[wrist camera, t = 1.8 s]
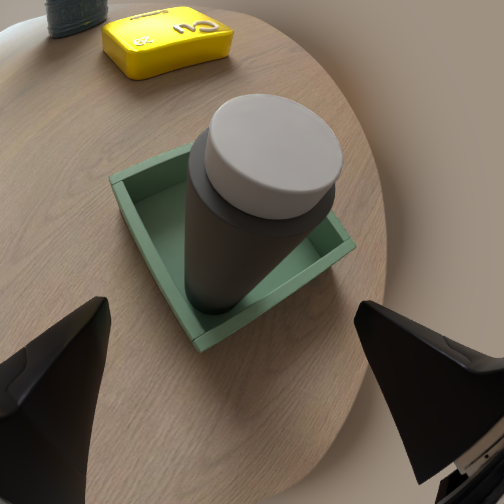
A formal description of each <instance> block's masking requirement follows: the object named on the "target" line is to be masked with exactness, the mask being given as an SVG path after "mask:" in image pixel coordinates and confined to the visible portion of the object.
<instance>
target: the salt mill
mask: <svg viewBox="0 0 504 504" xmlns="http://www.w3.org/2000/svg"><path fill="white" fill-rule="evenodd" d="M342 166H343V154H342V149H341V146H340V143H339V141H338V139H337V137H336V135H335V134H334V132H333V131H332V130H331V128H330V127H329V126H328V125H327V124H326V123H325V122H324V121H323V120H322V119H321V118H320V117H319V116H318V115H316V114H315V113H314V112H312V111H311V110H309V109H308V108H306V107H304V106H302V105H301V104H298V103H296V102H294V101H292V100H289V99H286V98H283V97H279V96H274V95H267V94H249V95H243V96H239V97H236V98H233V99H231V100H229V101H227V102H226V103H224V104H223V105H222V106H220V107H219V109H218V110H217V111H216V112H215V113H214V115H213V117H212V119H211V122H210V125H209V127H208V128H207V129H206V130H204V131H203V132H202V133H201V134H200V135H199V137H198V138H197V139H196V140H195V142H194V144H193V145H192V147H191V150H190V153H189V158H188V166H187V183H186V204H185V240H184V286H185V293H186V296H187V298H188V300H189V302H190V303H191V305H192V306H193V307H194V308H196V309H197V310H198V311H200V312H202V313H205V314H209V315H220V314H224V313H226V312H228V311H230V310H231V309H233V308H234V307H235V306H236V305H237V304H238V303H239V302H240V301H241V300H242V299H243V298H244V297H245V296H246V295H247V294H249V293H250V292H251V291H252V290H253V289H254V288H255V287H256V286H257V285H258V284H259V283H260V282H261V281H262V280H263V279H264V278H265V277H266V276H267V275H268V274H269V273H270V272H272V271H273V270H274V269H275V268H276V267H277V266H278V265H279V264H280V263H281V262H282V261H283V260H284V259H285V258H286V257H287V256H288V255H289V254H290V253H291V252H292V251H293V250H294V249H295V248H296V247H297V246H298V245H299V244H300V243H301V242H302V241H303V240H304V239H305V238H306V237H307V236H308V235H309V234H310V233H311V232H312V231H313V230H314V229H315V228H316V227H317V226H318V225H319V224H320V223H321V222H322V221H323V220H324V219H325V218H326V217H327V215H328V214H329V212H330V210H331V208H332V206H333V202H334V198H335V182H336V180H337V179H338V178H339V176H340V173H341V170H342Z"/></svg>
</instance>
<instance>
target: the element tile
mask: <svg viewBox="0 0 504 504" xmlns="http://www.w3.org/2000/svg"><path fill="white" fill-rule="evenodd" d="M233 34H234V31H233V30H232V29H231V28H229V27H227V26H225V25H224V24H222V23H220V22H218V21H216V20H214V19H212V18H210V17H208V16H206V15H204V14H202V13H200V12H198V11H196V10H193V9H191V8H188V7H176V8H170V9H164V10H159V11H154V12H149V13H145V14H144V13H143V14H140V15H136V16H132V17H128V18H125V19H121V20H118V21H114V22H111V23H108V24H106V25H104V26H103V27H102V44H103V50H104V51H105V53H106V54H107V55H108V56H109V57H110V58H111V59H112V60H113V61H114V62H115V64H116V65H117V66H118V67H119V68H120V69H121V70H122V71H123V73H124V74H125V75H126V76H127V77H128V78H130V79H133V80H142V79H147V78H151V77H154V76H157V75H160V74H163V73H166V72H169V71H173V70H176V69H180V68H183V67H187V66H191V65H195V64H199V63H203V62H207V61H212V60H216V59H221V58H224V57H226V56H227V55H228V54H229V50H230V46H231V42H232V38H233Z"/></svg>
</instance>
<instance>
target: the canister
mask: <svg viewBox="0 0 504 504" xmlns="http://www.w3.org/2000/svg"><path fill="white" fill-rule="evenodd" d="M45 6H46V14H47V22H48V32H49V34H50V37H52V38H59V37H65V36H69V35H72V34H75V33H78V32H81V31H84V30H86V29H89V28H91V27H93V26H95V25H97V24H99V23H101V22H102V21H104V20H105V19H106V18H107V13H108V6H107V0H47V2H46V3H45Z"/></svg>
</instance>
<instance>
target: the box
mask: <svg viewBox="0 0 504 504" xmlns="http://www.w3.org/2000/svg"><path fill="white" fill-rule="evenodd" d="M194 142H195V141H194ZM194 142H191V143H189V144H186V145H183V146H180V147H178V148H175V149H172V150H170V151H167V152H165V153H162V154H160V155H157V156H155V157H152V158H150V159H147V160H145V161H143V162H140V163H138V164H136V165H134V166H131V167H129V168H127V169H125V170H122V171H120V172H118V173H116V174H114V175H112V176H110V177H109V181H110V184H111V187H112V190H113V192H114V195H115V198H116V201H117V203H118V206H119V208H120V211H121V213H122V215H123V217H124V219H125V222H126V224H127V226H128V228H129V230H130V232H131V234H132V236H133V239H134V241H135V243H136V245H137V247H138V249H139V251H140V253H141V255H142V257H143V259H144V260H145V262H146V264H147V266H148V268H149V270H150V272H151V274H152V276H153V278H154V279H155V281H156V283H157V285H158V287H159V289H160V290H161V292H162V294H163V296H164V297H165V299H166V301H167V303H168V304H169V306H170V308H171V310H172V311H173V313H174V315H175V316H176V318H177V320H178V321H179V323H180V325H181V326H182V328H183V330H184V331H185V333H186V334H187V336H188V338H189V339H190V341H191V342H192V344H193V345H194V347H195V349H196V350H197V352H204V351H205V350H207V349H209V348H210V347H212V346H214V345H215V344H217V343H218V342H220V341H222V340H223V339H225V338H226V337H228V336H230V335H231V334H233V333H234V332H236V331H237V330H239V329H241V328H242V327H244V326H245V325H247V324H248V323H250V322H251V321H253V320H254V319H256V318H257V317H259V316H260V315H262V314H263V313H265V312H266V311H268V310H269V309H271V308H272V307H274V306H275V305H277V304H278V303H280V302H281V301H283V300H284V299H286V298H287V297H289V296H290V295H291V294H293V293H294V292H296V291H297V290H299V289H300V288H301V287H303V286H304V285H306V284H307V283H309V282H310V281H311V280H313V279H314V278H316V277H317V276H318V275H320V274H321V273H322V272H324V271H325V270H327V269H328V268H329V267H331V266H332V265H333V264H335V263H336V262H337V261H339V260H340V259H341V258H343V257H344V256H345V255H347V254H348V253H349V252H351V251H352V250H353V249H355V248H356V247H357V246H356V244H355V243H354V241H353V240H352V238H351V236H350V235H349V234H348V232H347V231H346V229H345V228H344V227H343V225H342V224H341V222H340V221H339V220H338V218H337V217H336V215H335V214H334V213H333V211H332V210H330V212H329V214H328V215H327V217H326V218H325V219H324V220H323V221H322V222H321V223H320V224H319V225H318V226H317V227H316V228H315V229H314V230H313V231H312V232H311V233H310V234H309V235H308V236H307V237H306V238H305V239H304V240H303V241H302V242H301V243H300V244H299V245H298V246H297V247H296V248H295V249H294V250H293V251H292V252H291V253H290V254H289V255H288V256H287V257H286V258H285V259H284V260H283V261H282V262H281V263H280V264H279V265H278V266H277V267H276V268H275V269H274V270H273V271H272V272H270V273H269V274H268V275H267V276H266V277H265V278H264V279H263V280H262V281H261V282H260V283H259V284H258V285H257V286H256V287H255V288H254V289H253V290H252V291H251V292H250V293H249V294H247V295H246V296H245V297H244V298H243V299H242V300H241V301H240V302H239V303H238V304H237V305H236V306H235V307H234V308H233V309H231V310H230V311H228V312H226V313H224V314H220V315H209V314H205V313H202V312H200V311H198V310H197V309H196V308H194V307H193V306H192V305H191V303H190V302H189V300H188V298H187V296H186V293H185V286H184V240H185V204H186V183H187V166H188V158H189V153H190V150H191V147H192V145H193V144H194Z"/></svg>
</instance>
